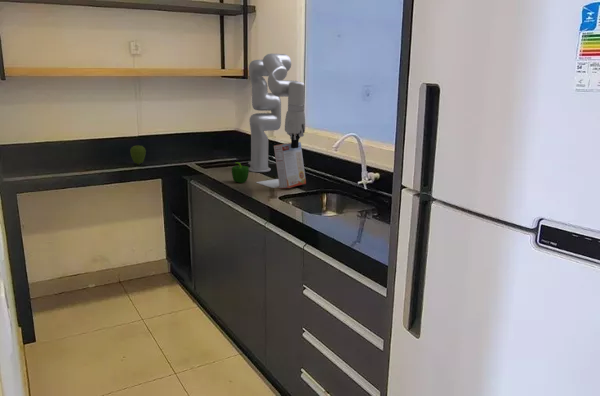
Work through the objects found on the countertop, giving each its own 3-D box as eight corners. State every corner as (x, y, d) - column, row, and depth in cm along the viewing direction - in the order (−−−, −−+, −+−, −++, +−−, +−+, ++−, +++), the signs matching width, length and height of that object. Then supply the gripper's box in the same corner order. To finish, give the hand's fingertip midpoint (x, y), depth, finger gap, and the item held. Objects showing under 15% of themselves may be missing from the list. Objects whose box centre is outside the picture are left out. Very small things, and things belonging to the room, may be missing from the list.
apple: (128, 164, 293) (127, 144, 290) (142, 162, 298) (141, 143, 296) (134, 166, 287) (133, 146, 284) (148, 165, 292) (148, 144, 289)
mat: (255, 182, 255) (255, 182, 255) (283, 178, 266) (283, 177, 266) (273, 188, 245) (273, 187, 245) (301, 183, 256) (301, 182, 256)
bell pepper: (252, 182, 256) (252, 162, 254) (239, 184, 250) (240, 164, 248) (241, 179, 262) (241, 160, 259) (228, 181, 256) (228, 162, 253)
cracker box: (297, 184, 255) (292, 142, 252) (306, 184, 251) (301, 141, 248) (278, 188, 244) (273, 145, 242) (288, 188, 240) (282, 144, 238)
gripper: (279, 107, 241) (278, 146, 245) (300, 110, 230) (299, 150, 235) (291, 107, 246) (290, 145, 250) (312, 109, 235) (311, 149, 239)
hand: (294, 147), depth 242 cm, fingers closed
